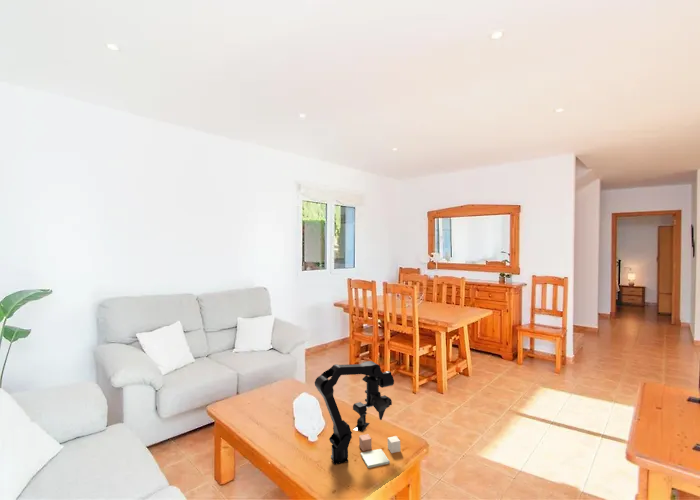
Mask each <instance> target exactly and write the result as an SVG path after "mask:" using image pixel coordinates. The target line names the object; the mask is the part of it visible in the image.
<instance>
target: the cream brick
mask: <svg viewBox="0 0 700 500" xmlns="http://www.w3.org/2000/svg"><path fill="white" fill-rule="evenodd" d="M387 449H388V450H389V451H390V453H391V454H395V453H400V452H401V440H400V439H399V437H398V436H397V435H394V436H390V437H387Z"/></svg>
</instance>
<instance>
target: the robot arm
mask: <svg viewBox="0 0 700 500" xmlns="http://www.w3.org/2000/svg"><path fill="white" fill-rule="evenodd" d="M353 375H364V377H362V379H361V380H362V381H364V382H365V383H366V389H365V390H364V393H365V394H366V398H364V401H365V403H363V402H361V401H358V402H356V403H353V404H352V410H353V411H355V412H356V414H359V418H360V417H361V420H362V422H363V424H364V425H366V423H367V420H366V419H367V416H366V415H367V414H368V412H367V409H370V407H371V408H372V407H373V408H374V409H375V410H376V412H378V417H379V418H378V419H379V420H380V421H382V420H383V418H384V414H385V411H386V409H388V408H389V407H390V406H392V404H393V400H392V399H391V398H390V397H388V396H386V395H382V394H381V391H380V389H379V387H380V388H388V387H392V386H394V384H395V380H394V376H393V375H392V372H391V371H390V370H386V371H384V372H383V371H382V370H381V366H380V365H379V364H377V363H376V362H374V361H372V360H368V361H367V360H366V361H363V362H362V363H358V364H333V365H332V366H331V367H330V368H328V369H326V370H325V371H324V372H323V373H321V375H319V376H317V377H316V379H315V381H314V386H315V387H316V388H315V389H317V392H319V394H320V395H321V397H322V398H323V401H324V403H325V406H326V407H327V408H326V409H327V411H328V413H329V416H330V420H331V422H332V425H333V427H332V431H333V433H332V434H331V435H330V437H329V439H328V440H329V442H330V443H331V455H330V458H331V460H332V463H333V465H339V464H344V463H348V462H349V459H348V458H349V447H350V446H349V445H350V442H351V439H352V438H353V436H352V434H353V432H352V431H351V426H350V424H349V423H347V421H346V420H345V419H342V416H341V412H340V410H339V407H338V405H337V402H336V399H335V397H334V391H335V390H334V387H335V385H336V384H337V383H338V380H340V379H339V378H341V376H353Z"/></svg>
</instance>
